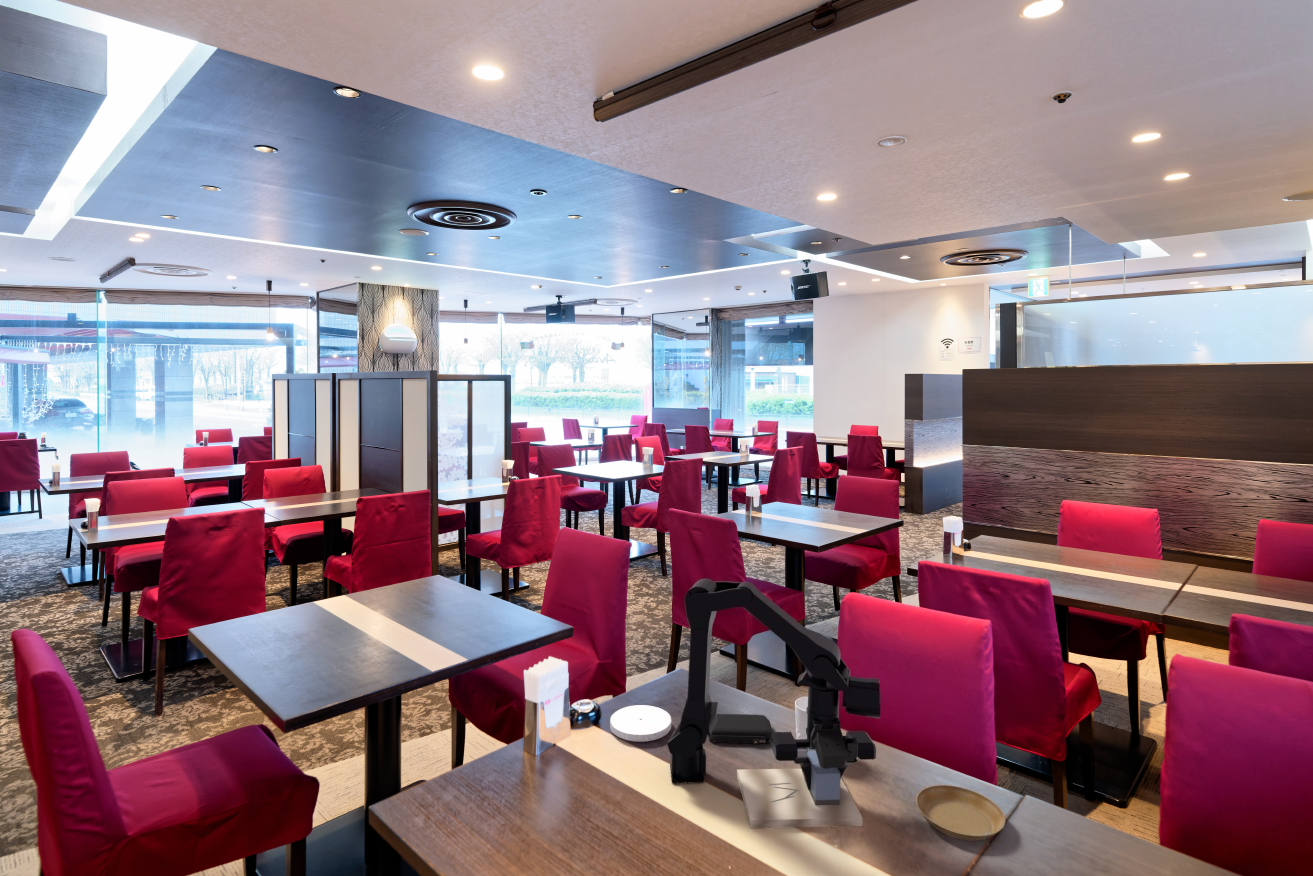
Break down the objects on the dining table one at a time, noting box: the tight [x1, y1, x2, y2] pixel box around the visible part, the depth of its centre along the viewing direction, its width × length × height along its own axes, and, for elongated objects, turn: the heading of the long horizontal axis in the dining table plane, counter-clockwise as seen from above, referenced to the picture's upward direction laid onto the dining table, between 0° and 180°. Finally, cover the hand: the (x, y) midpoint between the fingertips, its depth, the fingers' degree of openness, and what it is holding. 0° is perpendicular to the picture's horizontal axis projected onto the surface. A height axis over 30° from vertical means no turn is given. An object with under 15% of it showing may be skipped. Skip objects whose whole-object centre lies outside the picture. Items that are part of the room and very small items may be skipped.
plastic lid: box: [609, 704, 672, 743], centre depth 155 cm, size 14×14×2 cm
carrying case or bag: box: [707, 713, 774, 745], centre depth 153 cm, size 11×3×15 cm
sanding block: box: [804, 751, 840, 805], centre depth 128 cm, size 4×8×6 cm, turn 2°
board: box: [736, 768, 863, 829], centre depth 129 cm, size 20×16×2 cm
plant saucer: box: [915, 784, 1006, 842], centre depth 122 cm, size 15×15×3 cm
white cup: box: [794, 695, 808, 739], centre depth 146 cm, size 8×8×10 cm
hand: (821, 788), depth 129 cm, fingers closed on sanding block, 4 cm apart
